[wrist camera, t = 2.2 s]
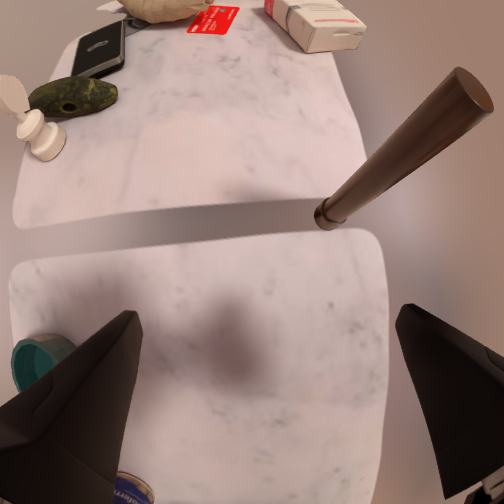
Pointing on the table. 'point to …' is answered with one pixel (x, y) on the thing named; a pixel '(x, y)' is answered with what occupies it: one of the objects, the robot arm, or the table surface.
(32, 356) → the bowl
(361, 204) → the stick
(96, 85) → the decorative stone
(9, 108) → the decorative finial
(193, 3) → the model
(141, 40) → the table surface
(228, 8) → the credit card
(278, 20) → the ink box
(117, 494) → the pill bottle
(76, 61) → the external hard drive
